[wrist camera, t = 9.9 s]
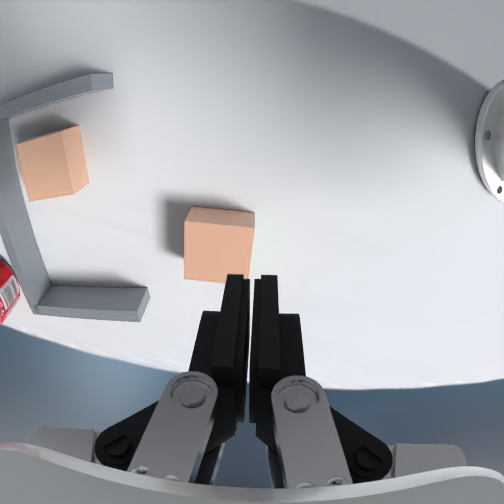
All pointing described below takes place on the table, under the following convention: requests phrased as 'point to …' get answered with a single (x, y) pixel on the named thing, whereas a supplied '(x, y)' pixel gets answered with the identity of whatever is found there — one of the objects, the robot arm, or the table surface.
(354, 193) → the table surface
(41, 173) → the light orange-brown block
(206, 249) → the peach rectangular block
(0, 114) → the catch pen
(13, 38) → the table surface
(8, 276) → the soda can
